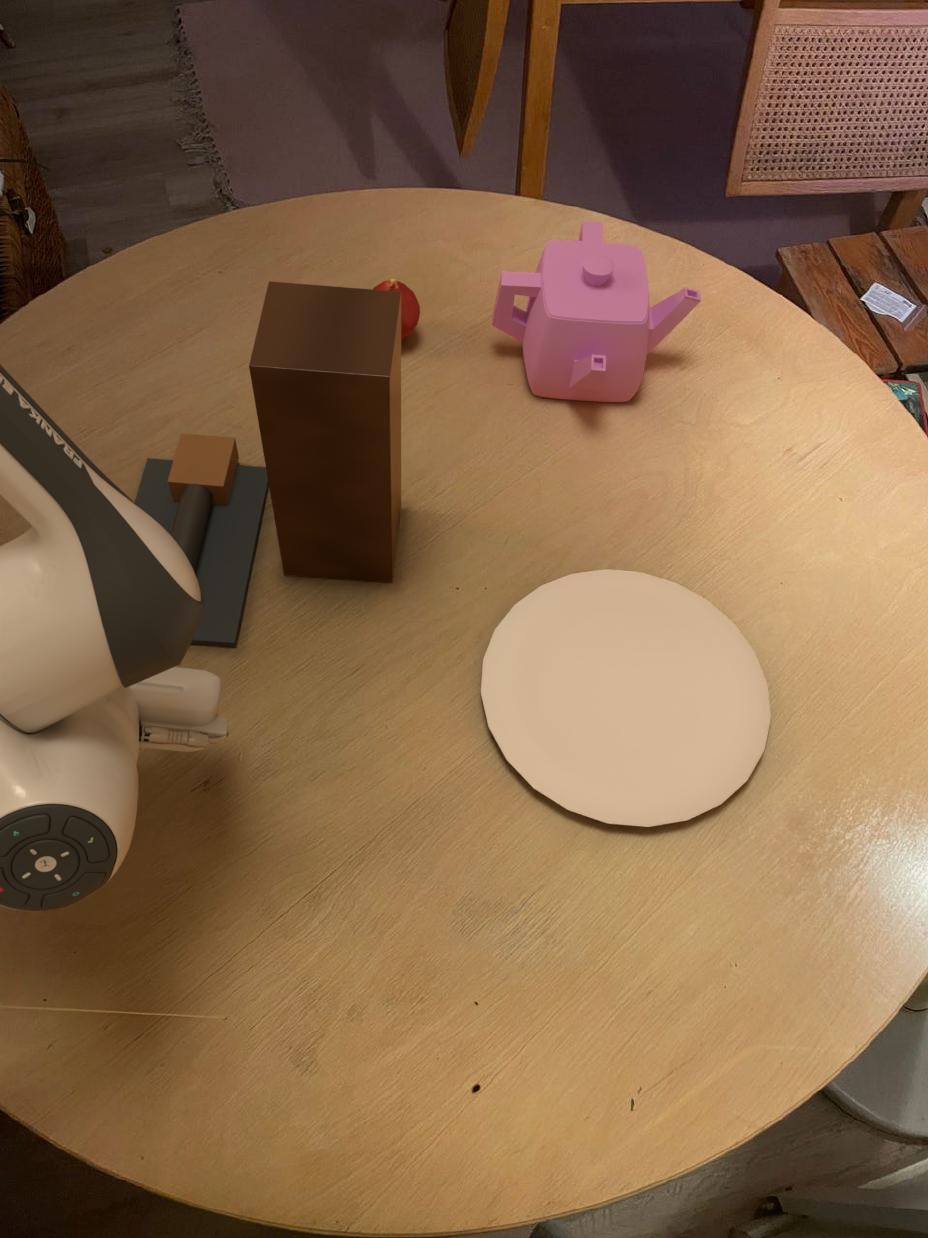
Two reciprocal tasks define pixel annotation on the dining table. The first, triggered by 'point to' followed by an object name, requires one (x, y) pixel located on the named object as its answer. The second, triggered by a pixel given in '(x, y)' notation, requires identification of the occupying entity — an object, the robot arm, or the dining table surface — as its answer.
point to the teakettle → (587, 318)
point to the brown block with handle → (200, 486)
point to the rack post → (331, 426)
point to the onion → (404, 305)
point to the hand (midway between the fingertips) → (79, 652)
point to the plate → (625, 698)
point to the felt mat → (215, 545)
